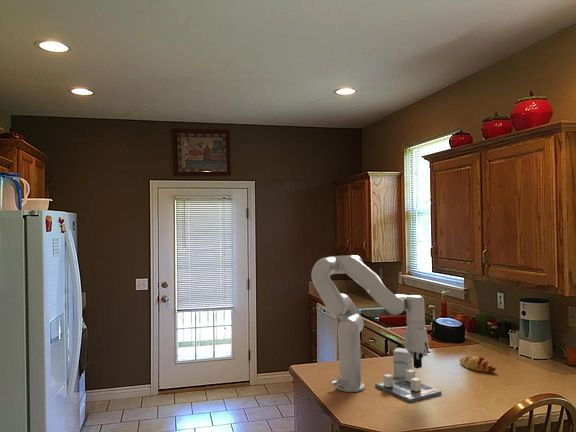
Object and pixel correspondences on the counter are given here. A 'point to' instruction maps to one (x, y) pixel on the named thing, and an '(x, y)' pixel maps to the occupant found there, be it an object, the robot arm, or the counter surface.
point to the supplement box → (401, 362)
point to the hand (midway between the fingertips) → (417, 367)
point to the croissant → (477, 364)
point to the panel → (408, 390)
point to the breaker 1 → (388, 380)
